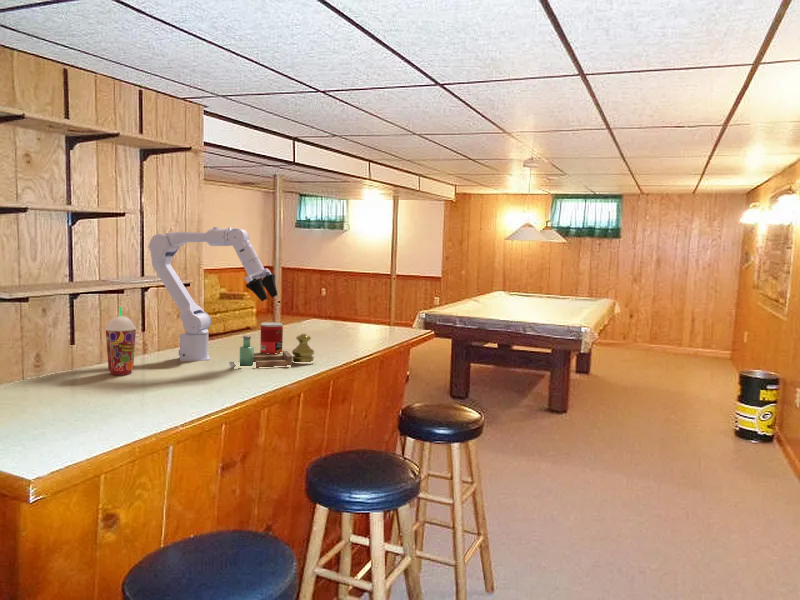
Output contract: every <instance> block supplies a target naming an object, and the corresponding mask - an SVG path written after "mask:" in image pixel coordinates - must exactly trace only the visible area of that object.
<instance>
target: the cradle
mask: <svg viewBox="0 0 800 600" xmlns="http://www.w3.org/2000/svg"><path fill="white" fill-rule="evenodd" d="M234 362H235V361H228V363H229V365H230V369H231V370H232V369H234V367H235V366H236V365H235V364H234ZM253 362H256V368H259V367H274V366H287V365H292V366H293V363H292V354H291V353H290V352H289V351H288V350H282V354H281V355H280V354H273V355H254V358H253Z"/></svg>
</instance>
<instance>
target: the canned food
mask: <svg viewBox="0 0 800 600" xmlns="http://www.w3.org/2000/svg"><path fill="white" fill-rule="evenodd" d="M283 333H284V325H283V323H281V322H274V321H273V322H272V321H271V322H270V321H269V322H268V321H267V322H262V323H260V347H259V348H260V350H259V351H260V354H262V353H269V354H268V355H270V354H273V355H276V354H275V353H280V352H282V353H283V342H284V341H283V337H284V335H283Z"/></svg>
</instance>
